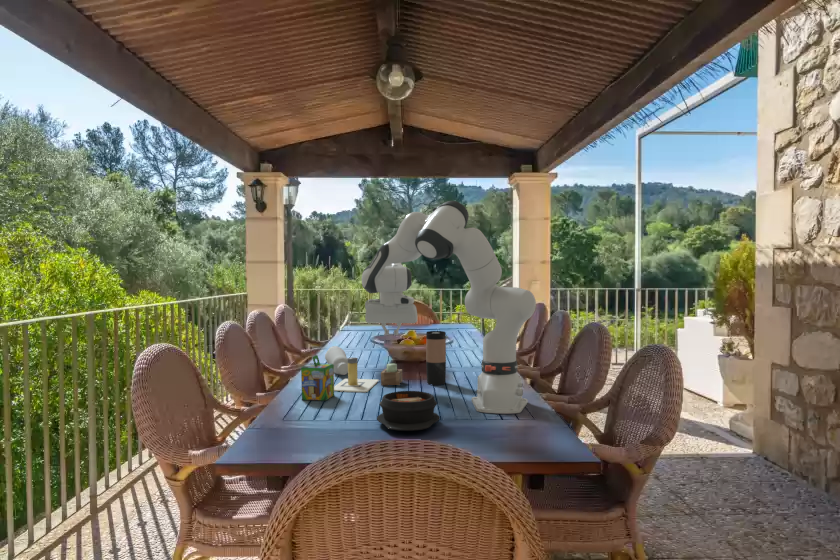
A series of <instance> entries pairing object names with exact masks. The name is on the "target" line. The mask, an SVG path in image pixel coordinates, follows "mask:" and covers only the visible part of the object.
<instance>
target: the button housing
mask: <svg viewBox="0 0 840 560" xmlns="http://www.w3.org/2000/svg"><path fill="white" fill-rule="evenodd" d="M401 382H402V383H403V369H402V368H401V369H399V368H397V372H387V368H384V369H382V371H380V386H388V385H399V386H400V385H401V384H402V383H401ZM400 383H401V384H400Z"/></svg>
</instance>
